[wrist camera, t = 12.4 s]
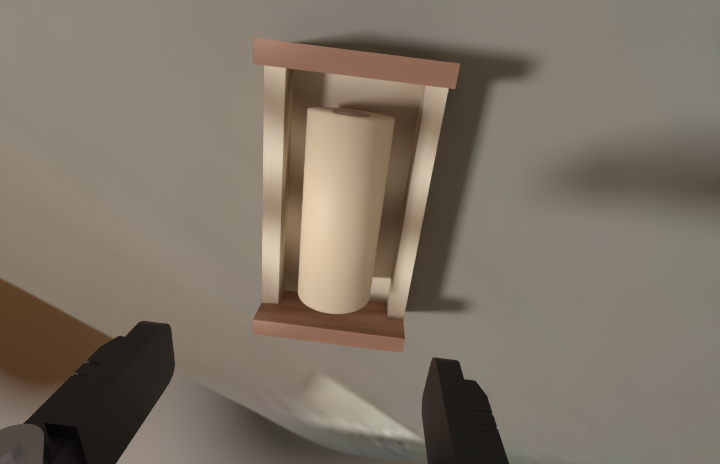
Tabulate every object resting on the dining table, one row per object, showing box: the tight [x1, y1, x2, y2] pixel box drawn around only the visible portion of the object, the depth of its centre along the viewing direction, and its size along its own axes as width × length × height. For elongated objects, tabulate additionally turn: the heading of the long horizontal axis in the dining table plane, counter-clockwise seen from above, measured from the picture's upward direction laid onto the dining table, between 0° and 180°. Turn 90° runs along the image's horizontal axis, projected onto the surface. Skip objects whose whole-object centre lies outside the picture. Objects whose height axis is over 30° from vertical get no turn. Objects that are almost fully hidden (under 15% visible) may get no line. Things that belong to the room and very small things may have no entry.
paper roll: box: [298, 107, 395, 314], centre depth 24 cm, size 12×5×5 cm, turn 174°
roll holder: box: [253, 38, 460, 353], centre depth 25 cm, size 18×10×5 cm, turn 174°
